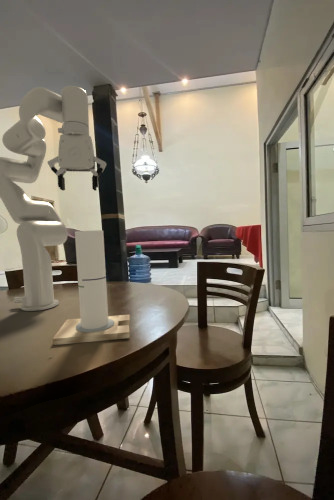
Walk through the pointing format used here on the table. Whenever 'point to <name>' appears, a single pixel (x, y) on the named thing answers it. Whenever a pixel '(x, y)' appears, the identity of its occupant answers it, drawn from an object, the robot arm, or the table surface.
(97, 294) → the cylindrical container
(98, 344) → the table surface
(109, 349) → the table surface
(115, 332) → the notched board
